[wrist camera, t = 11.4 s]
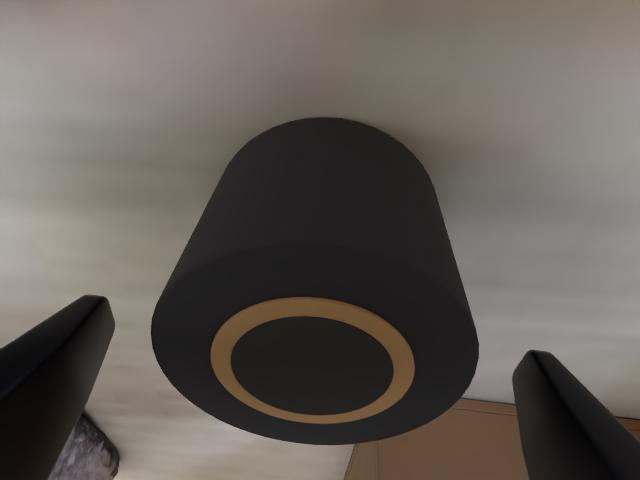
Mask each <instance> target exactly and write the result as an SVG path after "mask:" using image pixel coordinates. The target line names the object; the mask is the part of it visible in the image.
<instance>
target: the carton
mask: <svg viewBox="0 0 640 480" xmlns="http://www.w3.org/2000/svg"><path fill="white" fill-rule="evenodd" d="M617 419H618V420H619V421H620V422H621V423H622V424H623V425H624V426H625V427H626V428H627V429H628V430H629V431H630V432H631V433H632V434H633V435H634V436H635V437H636V438H637V439H638V440H639V441H640V420H633V419H625V418H617ZM344 480H529V476H528V472H527V468H526V464H525V459H524V455H523V450H522V445H521V439H520V432H519V425H518V418H517V411H516V405H509V404H501V403H493V402H485V401H477V400H468V399H459V400H458V401H457V402H456V403H455V404H454V405H453V406H452V407H451V408H450V409H448V410H447V411H446V412H445V413H443V414H442V415H441V416H439V417H437V418H436V419H434V420H432V421H431V422H429V423H427V424H425V425H423V426H421V427H419V428H417V429H414V430H412V431H409V432H406V433H404V434H401V435H398V436H394V437H390V438H387V439H383V440H377V441H372V442H366V443H357V444H356V445H355V448H354V451H353V454H352V457H351V460H350V463H349V466H348V468H347V471H346V474H345V477H344Z"/></svg>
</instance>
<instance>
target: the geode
mask: <svg viewBox="0 0 640 480" xmlns="http://www.w3.org/2000/svg"><path fill="white" fill-rule="evenodd" d="M118 467H119V458H118V456H117V454H116V452H115V451H114V450H113V448H112V447H111V446H110V444H109V442H108V440H107V438H106V436H105V434H103V433H101V432H99V431H97V430H96V429H95V427H94V426H93V425H92V424H91V422H89V421H88V420H87V419H85V418H84V417H82V416H81V415H80V417H79V419H78V421H77V423H76V425H75V427H74V429H73V431H72V433H71V435H70V437H69V439H68V440H67V442H66V444H65V446H64V448H63V450H62V452H61V454H60V456H59V458H58V460H57V462H56V464H55V466H54V468H53V470H52V472H51V474H50V476H49V478H48V480H113V479H114V477H115V476H116V475H117V473H118Z"/></svg>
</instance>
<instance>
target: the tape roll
mask: <svg viewBox="0 0 640 480" xmlns="http://www.w3.org/2000/svg"><path fill="white" fill-rule="evenodd" d="M151 338H152V346H153V350H154V353H155V356H156V359H157V362H158V363H159V365H160V367H161V369H162V371H163V373H164V374H165V375H166V377H167V378H168V379H169V381H170V382H171V384H172V385H173V386H174V387H175V388H176V389H177V390H178V391H179V392H180V393H181V394H182V395H183V396H184V397H186V398H187V399H188V400H189V401H191V402H192V403H193V404H194V405H196V406H197V407H199V408H200V409H202V410H203V411H205V412H206V413H208V414H210V415H212V416H213V417H215V418H217V419H219V420H221V421H223V422H225V423H227V424H230V425H232V426H234V427H237V428H239V429H242V430H245V431H248V432H250V433H254V434H257V435H261V436H264V437H268V438H273V439H277V440H282V441H288V442H295V443H303V444H315V445H346V444H357V443H366V442H372V441H377V440H383V439H387V438H390V437H394V436H398V435H401V434H404V433H406V432H409V431H412V430H414V429H417V428H419V427H421V426H423V425H425V424H427V423H429V422H431V421H432V420H434V419H436V418H437V417H439V416H441V415H442V414H443V413H445V412H446V411H447V410H448V409H450V408H451V407H452V406H453V405H454V404H455V403H456V402H457V401H458V400H459V399H460V398H461V397H462V395H463V394H464V393H465V391H466V390H467V388H468V387H469V385H470V383H471V381H472V379H473V377H474V375H475V371H476V367H477V363H478V358H479V342H478V338H477V333H476V328H475V325H474V322H473V318H472V315H471V311H470V308H469V305H468V301H467V298H466V294H465V291H464V288H463V284H462V281H461V278H460V274H459V271H458V267H457V264H456V261H455V257H454V254H453V250H452V247H451V244H450V240H449V237H448V234H447V230H446V227H445V223H444V220H443V217H442V213H441V210H440V206H439V203H438V200H437V196H436V193H435V190H434V187H433V185H432V182H431V180H430V177H429V175H428V174H427V172H426V170H425V169H424V167H423V165H422V164H421V163H420V162H419V160H418V159H417V158H416V157H415V156H414V154H413V153H412V152H410V151H409V150H408V149H407V148H406V147H405V146H404V145H403V144H401V143H400V142H398V141H397V140H395V139H394V138H393V137H391V136H390V135H388V134H386V133H384V132H382V131H380V130H378V129H376V128H374V127H371V126H368V125H365V124H362V123H359V122H355V121H350V120H345V119H337V118H308V119H302V120H297V121H291V122H288V123H285V124H282V125H279V126H276V127H273V128H271V129H269V130H267V131H265V132H263V133H261V134H260V135H258V136H257V137H255V138H254V139H252V140H251V141H249V142H248V143H247V144H246V145H245V146H244V147H243V148H242V149H241V150H239V151H238V152H237V154H236V155H235V156H234V158H233V159H232V160H231V161H230V163H229V164H228V166H227V168H226V170H225V171H224V173H223V175H222V177H221V179H220V181H219V183H218V185H217V187H216V189H215V191H214V193H213V195H212V197H211V199H210V201H209V202H208V204H207V206H206V208H205V210H204V212H203V214H202V216H201V218H200V220H199V222H198V224H197V226H196V228H195V230H194V232H193V234H192V236H191V238H190V240H189V242H188V244H187V245H186V247H185V249H184V251H183V253H182V255H181V257H180V259H179V261H178V263H177V265H176V267H175V269H174V271H173V273H172V275H171V277H170V279H169V281H168V283H167V285H166V287H165V288H164V290H163V292H162V294H161V296H160V298H159V300H158V302H157V304H156V307H155V310H154V314H153V317H152V325H151Z"/></svg>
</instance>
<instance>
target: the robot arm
mask: <svg viewBox="0 0 640 480" xmlns="http://www.w3.org/2000/svg"><path fill="white" fill-rule="evenodd" d="M114 329H115V321H114V317H113V314H112V311H111V307H110V304H109V301H108V299H107V298H106V297H104V296H97V295H84V296H82V297H80V298H79V299H77V300H76V301H74V302H73V303H71V304H70V305H68V306H67V307H65V308H63V309H62V310H60V311H59V312H57V313H56V314H54V315H53V316H51V317H49V318H48V319H46V320H45V321H43V322H42V323H40V324H39V325H37V326H35V327H34V328H32V329H31V330H29V331H28V332H26V333H25V334H23V335H22V336H20V337H18V338H17V339H15V340H14V341H12V342H11V343H9V344H8V345H6V346H4V347H3V348H1V349H0V480H48V478H49V476H50V474H51V472H52V470H53V468H54V466H55V464H56V462H57V460H58V458H59V456H60V454H61V452H62V450H63V448H64V446H65V444H66V442H67V440H68V439H69V437H70V435H71V433H72V431H73V429H74V427H75V425H76V423H77V421H78V419H79V417H80V415H81V413H82V411H83V409H84V407H85V405H86V403H87V401H88V398H89V396H90V393H91V391H92V389H93V386H94V383H95V381H96V378H97V375H98V373H99V370H100V367H101V365H102V362H103V360H104V357H105V354H106V352H107V349H108V346H109V344H110V341H111V338H112V336H113V333H114ZM512 383H513V390H514V397H515V404H516V411H517V418H518V425H519V432H520V439H521V445H522V450H523V455H524V459H525V464H526V468H527V472H528V476H529V480H640V441H639V440H638V439H637V438H636V437H635V436H634V435H633V434H632V433H631V432H630V431H629V430H628V429H627V428H626V427H625V426H624V425H623V424H622V423H621V422H620V421H619V420H618V419H617V418H616V417H615V416H614V415H613V414H612V413H611V412H610V411H609V410H608V409H607V408H606V407H605V406H604V405H603V404H602V403H601V402H600V401H599V400H598V399H597V398H596V397H595V396H594V395H593V394H592V393H591V392H590V391H589V390H588V389H587V388H586V387H585V386H584V385H583V384H582V383H581V382H580V381H579V380H578V379H577V378H576V377H575V376H574V375H573V374H572V373H571V372H570V371H569V370H568V369H567V368H566V367H565V366H564V365H563V364H562V363H561V362H560V361H559V360H558V359H557V358H556V357H555V356H554V355H552V354H551V353H549V352H546V351H538V350H530V351H528V352H527V353H526V354H525V356H524V357H523V359H522V360H521V361H520V363H519V364H518V366H517V367H516V369H515V370H514V373H513V377H512Z"/></svg>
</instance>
